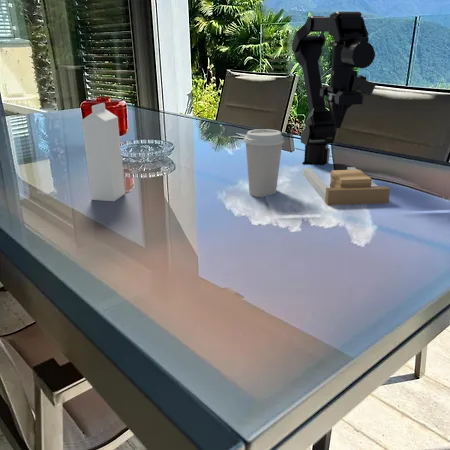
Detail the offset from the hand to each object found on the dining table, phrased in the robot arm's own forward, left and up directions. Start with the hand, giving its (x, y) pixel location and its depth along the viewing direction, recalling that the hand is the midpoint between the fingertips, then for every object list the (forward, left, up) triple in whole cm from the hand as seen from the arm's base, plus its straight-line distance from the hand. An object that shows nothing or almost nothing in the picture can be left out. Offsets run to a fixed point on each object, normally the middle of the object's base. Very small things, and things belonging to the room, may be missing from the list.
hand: (337, 128), depth 122 cm
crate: (+8, -17, -12) cm, 23 cm away
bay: (+5, -12, -13) cm, 19 cm away
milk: (-45, -41, -13) cm, 62 cm away
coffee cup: (-12, -23, -13) cm, 29 cm away
